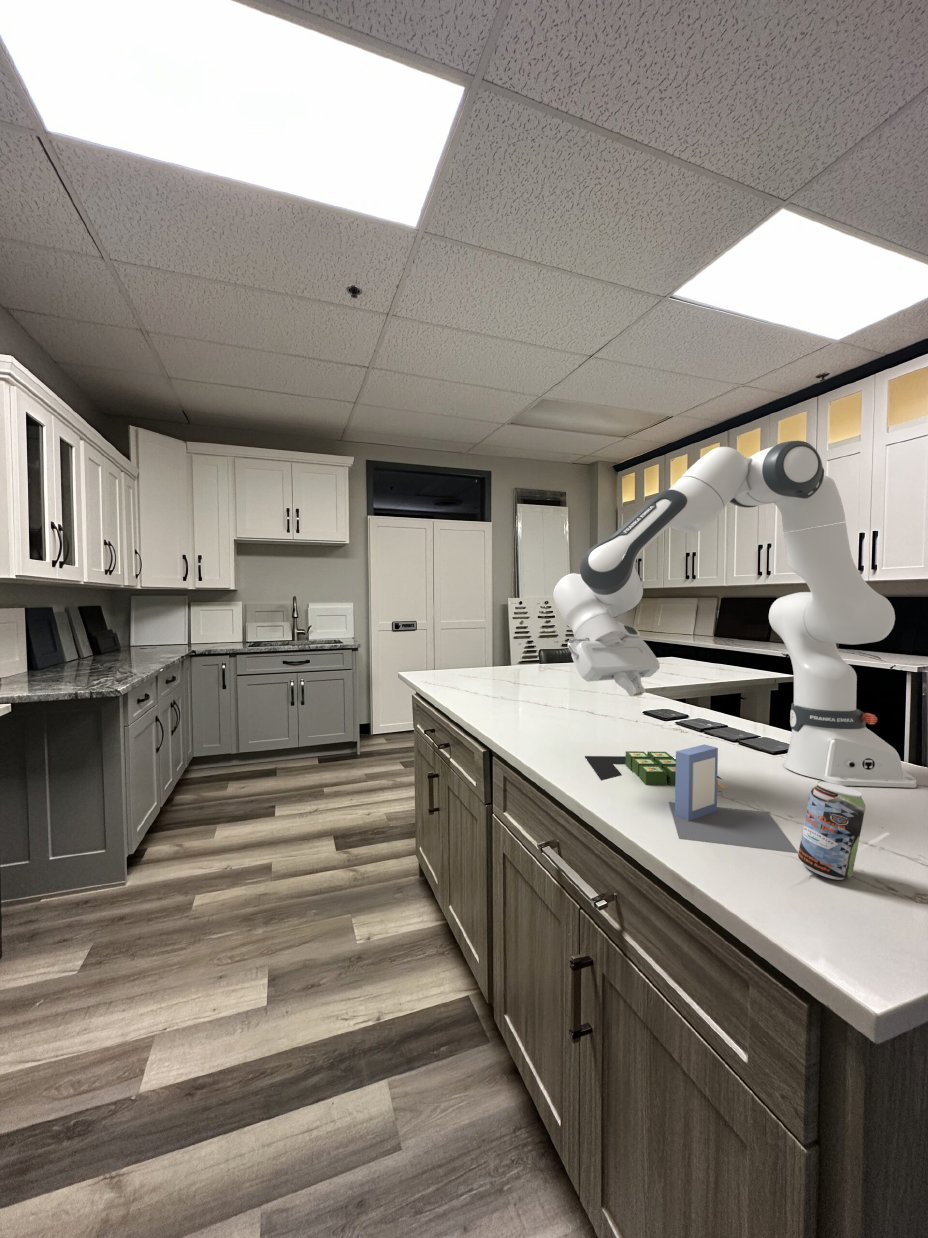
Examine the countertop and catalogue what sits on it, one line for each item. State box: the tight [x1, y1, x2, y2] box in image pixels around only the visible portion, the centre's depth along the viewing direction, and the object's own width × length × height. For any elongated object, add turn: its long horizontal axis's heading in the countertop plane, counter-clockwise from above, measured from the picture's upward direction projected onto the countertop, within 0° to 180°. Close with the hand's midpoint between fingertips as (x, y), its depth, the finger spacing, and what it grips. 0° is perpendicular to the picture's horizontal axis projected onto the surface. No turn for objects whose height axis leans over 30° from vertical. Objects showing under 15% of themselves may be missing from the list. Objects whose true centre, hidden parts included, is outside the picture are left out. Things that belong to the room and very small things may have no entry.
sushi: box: [584, 750, 726, 789], centre depth 108 cm, size 25×25×4 cm
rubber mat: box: [668, 801, 799, 854], centre depth 83 cm, size 16×15×1 cm
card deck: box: [674, 744, 719, 821], centre depth 87 cm, size 3×8×11 cm, turn 122°
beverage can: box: [797, 780, 866, 881], centre depth 68 cm, size 6×7×12 cm
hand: (638, 694), depth 97 cm, fingers closed
